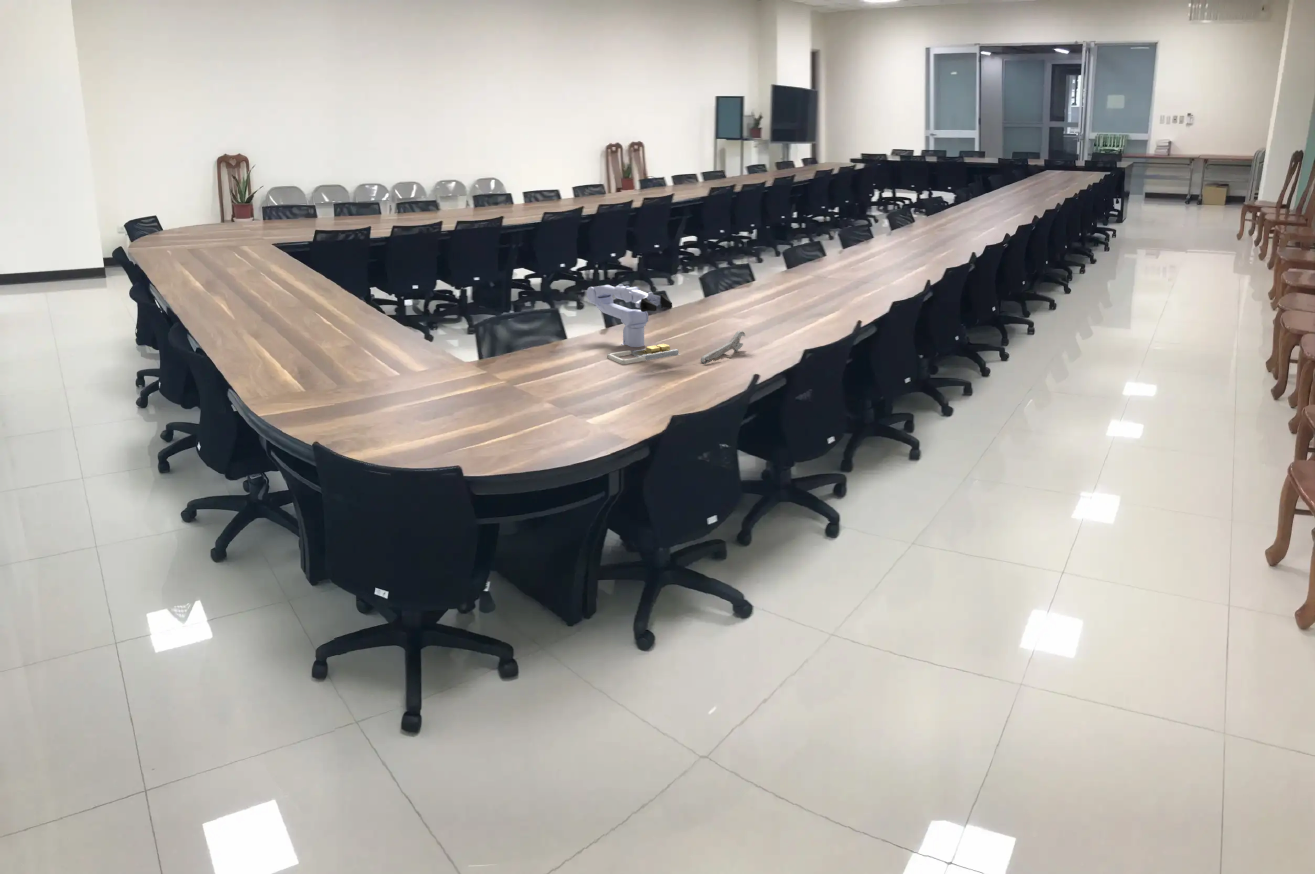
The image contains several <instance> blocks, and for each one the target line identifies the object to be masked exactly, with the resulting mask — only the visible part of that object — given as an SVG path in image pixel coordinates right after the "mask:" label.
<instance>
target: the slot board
mask: <svg viewBox="0 0 1315 874" xmlns="http://www.w3.org/2000/svg"><path fill="white" fill-rule="evenodd" d="M630 351H631V356H633V357H635V358H637V357H642V356H645V361H650V360H656V359H662V358H667V357H675V356H680V355H681V353H679V349H677V348H674V349H670V350H668V351H662V352H657V353H651V354H646V348H642V349H641V348H640V349H636V350H630ZM645 361H644V362H645Z"/></svg>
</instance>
